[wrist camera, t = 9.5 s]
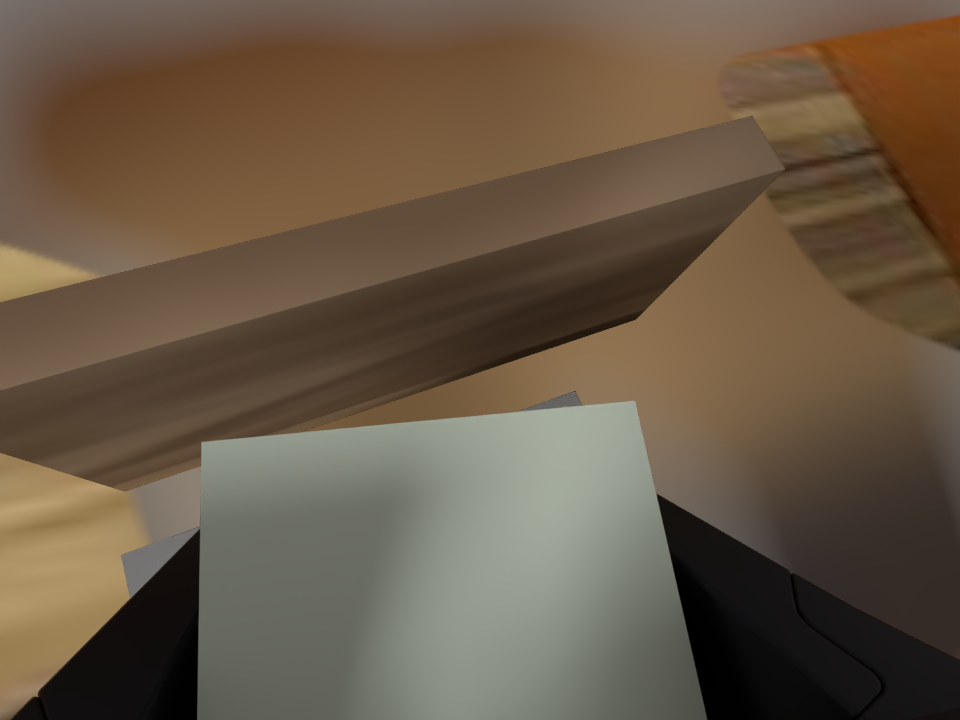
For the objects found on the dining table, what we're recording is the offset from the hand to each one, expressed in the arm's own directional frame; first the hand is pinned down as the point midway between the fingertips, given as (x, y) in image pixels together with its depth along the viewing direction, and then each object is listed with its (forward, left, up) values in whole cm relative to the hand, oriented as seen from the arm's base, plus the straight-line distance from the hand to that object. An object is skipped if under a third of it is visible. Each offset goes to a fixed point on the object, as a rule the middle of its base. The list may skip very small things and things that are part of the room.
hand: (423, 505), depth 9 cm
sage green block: (-1, 0, -7) cm, 7 cm away
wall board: (+5, -2, -10) cm, 11 cm away
